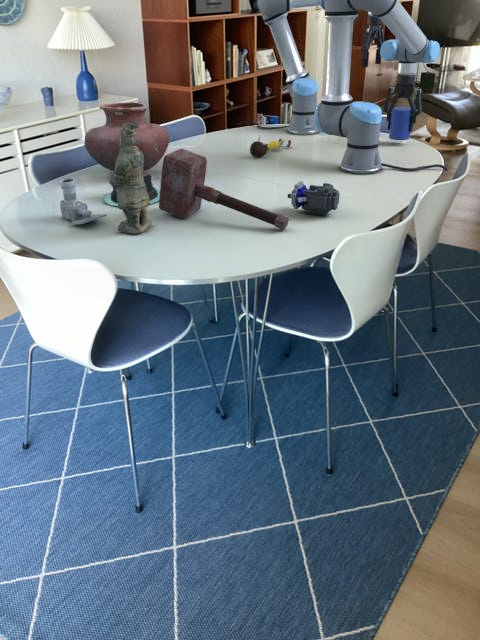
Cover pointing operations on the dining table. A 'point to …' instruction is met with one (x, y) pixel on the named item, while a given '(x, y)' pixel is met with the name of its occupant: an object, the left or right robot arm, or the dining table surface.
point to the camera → (74, 204)
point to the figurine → (266, 147)
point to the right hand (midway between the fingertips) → (399, 130)
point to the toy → (315, 198)
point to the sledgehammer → (200, 190)
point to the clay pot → (105, 138)
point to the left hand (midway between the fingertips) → (371, 65)
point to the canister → (400, 123)
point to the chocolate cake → (152, 192)
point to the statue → (131, 182)
